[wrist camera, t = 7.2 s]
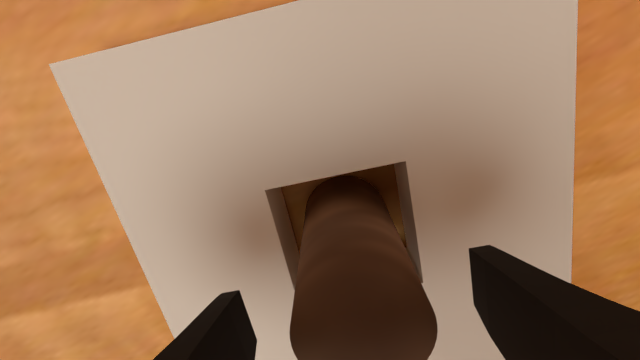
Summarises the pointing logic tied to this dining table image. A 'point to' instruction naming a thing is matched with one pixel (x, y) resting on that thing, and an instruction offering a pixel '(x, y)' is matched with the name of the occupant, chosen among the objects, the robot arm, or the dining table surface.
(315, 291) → the peg
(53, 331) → the dining table surface
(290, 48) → the socket board
